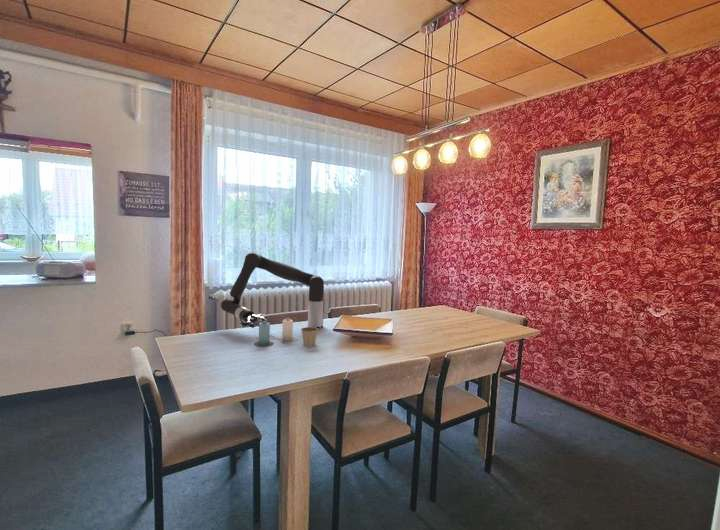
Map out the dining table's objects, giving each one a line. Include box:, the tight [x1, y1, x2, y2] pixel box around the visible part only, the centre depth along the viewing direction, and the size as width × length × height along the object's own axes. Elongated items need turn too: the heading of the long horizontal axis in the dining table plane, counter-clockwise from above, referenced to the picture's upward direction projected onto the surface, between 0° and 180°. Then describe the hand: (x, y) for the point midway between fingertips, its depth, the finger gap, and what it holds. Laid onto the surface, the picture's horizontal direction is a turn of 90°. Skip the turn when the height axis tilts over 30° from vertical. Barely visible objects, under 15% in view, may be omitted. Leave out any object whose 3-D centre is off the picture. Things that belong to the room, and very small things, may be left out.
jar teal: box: [258, 321, 271, 345], centre depth 186 cm, size 6×6×12 cm
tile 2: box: [275, 336, 300, 344], centre depth 196 cm, size 10×10×1 cm
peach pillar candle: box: [281, 317, 294, 341], centre depth 195 cm, size 6×6×12 cm
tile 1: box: [254, 334, 278, 341], centre depth 197 cm, size 10×10×1 cm
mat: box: [253, 340, 275, 348], centre depth 186 cm, size 10×10×1 cm
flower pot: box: [300, 326, 319, 347], centre depth 190 cm, size 9×9×9 cm
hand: (260, 324), depth 195 cm, fingers open, 8 cm apart
